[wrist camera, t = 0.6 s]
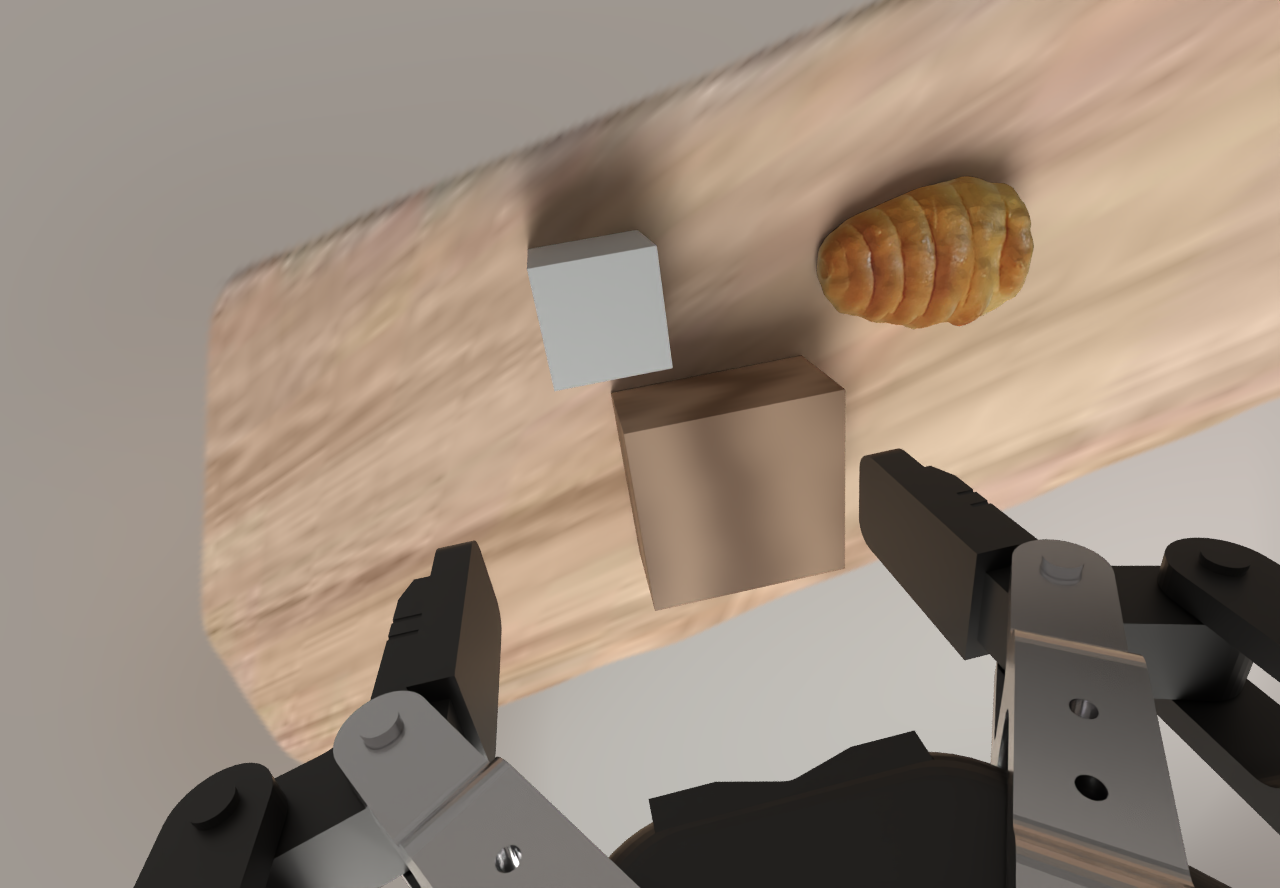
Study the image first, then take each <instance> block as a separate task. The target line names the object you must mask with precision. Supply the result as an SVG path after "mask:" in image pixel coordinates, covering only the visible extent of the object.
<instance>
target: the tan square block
mask: <svg viewBox="0 0 1280 888" xmlns="http://www.w3.org/2000/svg"><path fill="white" fill-rule="evenodd" d="M611 396H612V402H613V407H614V413H615V418H616V424H617V429H618V435H619V440H620V446H621V451H622V457H623V462H624V468H625V473H626V479H627V484H628V490H629V495H630V501H631V506H632V512H633V517H634V523H635V529H636V534H637V540H638V545H639V551H640V555H641V559H642V563H643V566H644V570H645V574H646V578H647V582H648V585H649V589H650V593H651V597H652V601H653V604H654V608H655V611H657V610H662V609H666V608H671V607H675V606H680V605H684V604H689V603H693V602H698V601H702V600H707V599H711V598H715V597H720V596H724V595H729V594H733V593H738V592H742V591H747V590H751V589H756V588H760V587H765V586H769V585H774V584H778V583H782V582H787V581H791V580H796V579H800V578H805V577H809V576H814V575H818V574H823V573H827V572H832V571H836V570H841V569H845V389H844V388H842V387H841V386H840V385H839V384H837V383H836V382H835V381H833V380H832V379H831V378H830V377H828V376H827V375H826V374H825V373H823V372H822V371H821V370H819V369H818V368H817V367H816V366H814V365H813V364H812V363H811V362H809V361H808V360H807V359H805V358H804V357H803V356H797V357H792V358H787V359H781V360H776V361H771V362H766V363H761V364H756V365H751V366H746V367H741V368H736V369H731V370H726V371H720V372H715V373H710V374H705V375H700V376H695V377H690V378H685V379H680V380H675V381H670V382H664V383H659V384H654V385H649V386H644V387H639V388H634V389H629V390H624V391H619V392H614V393H611Z"/></svg>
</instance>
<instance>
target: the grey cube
mask: <svg viewBox="0 0 1280 888" xmlns="http://www.w3.org/2000/svg"><path fill="white" fill-rule="evenodd" d="M527 271H528V275H529V280H530V284H531V289H532V293H533V298H534V302H535V306H536V311H537V315H538V320H539V324H540V329H541V333H542V337H543V342H544V346H545V351H546V355H547V360H548V364H549V369H550V373H551V377H552V382H553V386H554V391H558V390H563V389H568V388H573V387H579V386H584V385H589V384H594V383H599V382H604V381H609V380H614V379H620V378H625V377H630V376H635V375H640V374H645V373H650V372H655V371H661V370H666V369H671V368H673V367H672V359H671V351H670V344H669V336H668V328H667V321H666V313H665V305H664V298H663V290H662V282H661V275H660V267H659V259H658V252H657V245H655V244H654V243H653V242H652V241H650V240H649V239H648V238H647V237H646V236H644V235H643V234H642V233H641V232H640V231H638V230H633V231H627V232H621V233H616V234H610V235H605V236H599V237H593V238H588V239H582V240H576V241H571V242H565V243H560V244H554V245H548V246H543V247H537V248H531V249H528V258H527Z"/></svg>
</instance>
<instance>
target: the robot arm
mask: <svg viewBox="0 0 1280 888" xmlns="http://www.w3.org/2000/svg"><path fill="white" fill-rule="evenodd" d="M859 523H860V528H861V532H862V535H863V537H864V540H865V542H866V544H867V545H868V547H869V548H870V549H871V551H872V552H873V553H874V554H875V555H876V556H877V558H878V559H879V560H880V561H881V562H882V563H883V565H884V566H885V567H886V568H887V569H888V571H889V572H890V573H891V574H892V575H893V576H894V578H895V579H896V580H897V581H898V582H899V584H901V586H902V587H903V588H904V589H905V591H906V592H907V593H908V594H909V595H910V596H911V598H912V599H913V600H914V601H915V602H916V604H917V605H918V606H919V607H920V608H921V609H922V611H923V612H924V613H925V614H926V615H927V617H928V618H929V619H930V620H931V621H932V622H933V624H934V625H935V626H936V627H937V628H938V629H939V631H940V632H941V633H942V634H943V635H944V637H945V638H946V639H947V640H948V641H949V642H950V644H951V645H952V646H953V647H954V648H955V650H956V651H957V652H958V653H959V654H960V655H961V657H962V658H963V659H964V660H968V659H971V658H976V657H980V656H983V655H987V654H990V655H991V656H992V657H993V658H994V659H995V660H996V661H997V663H996V669H995V676H994V699H993V721H992V744H991V762H990V763H986V762H983V761H980V760H977V759H973V758H970V757H965V756H960V755H955V754H948V753H939V752H928V750H927V749H926V748H925V746H924V745H923V743H922V742H921V740H920V739H919V737H918V735H917V734H916V732H915V731H911V732H907V733H903V734H899V735H896V736H892V737H888V738H884V739H880V740H876V741H872V742H868V743H864V744H861V745H857V746H853V747H850V748H848V749H847V750H845V751H843V752H841V753H840V754H838V755H836V756H834V757H833V758H831V759H829V760H827V761H826V762H824V763H822V764H821V765H819V766H817V767H815V768H813V769H812V770H810V771H808V772H807V773H805V774H803V775H801V776H800V777H798V778H796V779H794V780H791V781H784V782H783V781H782V782H714V783H709V784H705V785H702V786H698V787H694V788H690V789H686V790H682V791H678V792H675V793H671V794H667V795H663V796H659V797H656V798H651V799H649V803H650V809H651V814H652V820H653V822H652V823H651V824H649V825H647V826H646V827H644V828H642V829H641V830H639V831H638V832H636V833H635V834H634V835H632V836H631V837H630V838H628V839H627V840H626V841H625V842H624V843H623V844H622V845H621V846H620V847H618V848H617V849H616V850H615V851H614V852H613V853H612V854H611V855H610V857H609V858H608V857H607V856H606V855H605V854H604V853H603V852H602V851H601V850H600V849H599V848H598V847H597V846H596V845H594V844H593V843H592V842H591V841H590V840H589V839H588V838H587V837H586V836H585V835H584V834H583V833H582V832H581V831H580V830H579V829H577V827H576V826H575V825H573V824H572V823H571V822H570V821H569V820H568V819H567V818H566V817H565V816H564V815H563V814H562V813H561V812H560V811H559V810H557V808H556V807H555V806H553V805H552V804H551V803H550V802H549V801H548V800H547V799H546V798H545V797H544V796H543V795H542V794H541V793H540V792H539V791H538V790H537V789H536V788H535V787H534V786H532V785H531V784H530V783H529V782H528V781H527V780H526V779H525V778H524V777H523V776H522V775H521V774H520V773H519V772H518V771H517V770H516V769H515V768H514V767H512V766H511V765H510V764H509V763H508V762H507V761H505V760H504V759H502V758H501V757H496V758H495V752H496V733H497V713H498V693H499V673H500V652H501V618H500V612H499V607H498V603H497V599H496V596H495V593H494V590H493V587H492V584H491V581H490V578H489V575H488V572H487V569H486V566H485V563H484V560H483V557H482V554H481V551H480V548H479V546H478V544H477V542H476V541H470V542H466V543H461V544H456V545H452V546H447V547H443V548H438V549H437V550H436V553H435V557H434V562H433V566H432V571H431V575H430V576H428V577H424V578H419V579H415V580H413V582H412V583H411V584H410V586H409V587H408V588H407V589H406V591H405V592H404V593H403V594H402V596H401V597H400V598H399V600H398V603H397V607H396V610H395V614H394V617H393V624H392V625H391V628H390V632H389V635H388V637H389V640H388V641H387V642H386V646H385V650H384V653H383V657H382V660H381V664H380V668H379V671H378V675H377V678H376V682H375V686H374V689H373V693H372V696H371V700H370V701H369V702H367V703H366V704H364V705H362V706H361V707H360V708H359V709H357V710H356V711H355V712H354V713H353V714H352V715H351V716H350V717H349V718H348V719H347V720H346V721H345V723H344V724H343V725H342V727H341V728H340V730H339V731H338V734H337V736H336V738H335V741H334V745H333V748H332V749H330V750H329V751H327V752H326V753H324V754H322V755H320V756H318V757H316V758H314V759H312V760H310V761H308V762H306V763H304V764H302V765H300V766H298V767H297V768H295V769H293V770H291V771H289V772H287V773H285V774H283V775H281V776H279V777H277V778H275V779H274V777H273V776H272V774H271V773H270V771H269V770H268V769H267V768H266V767H265V766H263V765H261V764H257V763H243V764H239V765H234V766H232V767H229V768H226V769H224V770H222V771H220V772H218V773H216V774H214V775H212V776H210V777H209V778H207V779H206V780H204V781H203V782H201V783H200V784H199V785H197V786H196V787H195V788H194V789H192V790H191V791H190V792H189V793H188V794H187V795H186V796H185V797H184V798H183V799H182V800H181V801H180V802H179V803H178V804H177V805H176V807H175V808H174V809H173V810H172V812H171V813H170V814H169V816H168V817H167V819H166V821H165V823H164V825H163V827H162V829H161V831H160V833H159V835H158V837H157V839H156V841H155V844H154V846H153V848H152V850H151V852H150V854H149V857H148V858H147V860H146V862H145V865H144V867H143V869H142V871H141V873H140V875H139V877H138V879H137V881H136V884H135V886H134V888H381V887H382V886H384V885H386V884H387V883H389V882H391V881H392V880H394V879H396V878H397V877H399V876H402V878H403V879H404V881H405V882H406V884H407V885H408V887H409V888H1231V887H1229V886H1227V885H1225V884H1224V883H1222V882H1220V881H1218V880H1216V879H1214V878H1212V877H1210V876H1208V875H1206V874H1204V873H1202V872H1201V871H1199V870H1197V869H1195V868H1193V867H1191V866H1189V865H1188V863H1187V858H1186V853H1185V848H1184V843H1183V839H1182V834H1181V829H1180V824H1179V819H1178V814H1177V809H1176V805H1175V800H1174V795H1173V791H1172V785H1171V780H1170V776H1169V771H1168V766H1167V761H1166V756H1165V752H1164V747H1163V742H1162V737H1161V732H1160V727H1159V722H1158V717H1157V715H1158V716H1159V717H1160V718H1161V719H1162V720H1163V721H1164V722H1165V723H1166V724H1167V725H1168V726H1169V727H1170V728H1171V729H1172V730H1174V731H1175V732H1176V733H1177V734H1178V735H1179V736H1180V737H1181V738H1182V739H1183V740H1184V741H1185V742H1186V743H1187V744H1188V745H1189V746H1190V747H1191V748H1192V749H1193V750H1194V751H1195V752H1196V753H1197V754H1198V755H1199V756H1200V757H1201V758H1202V759H1203V760H1204V761H1205V762H1206V763H1207V764H1208V765H1209V766H1210V767H1211V768H1212V769H1213V770H1214V771H1215V772H1216V773H1217V774H1218V775H1219V776H1220V777H1221V778H1222V779H1223V780H1224V781H1226V783H1227V784H1228V785H1230V787H1232V788H1233V789H1234V790H1235V791H1236V792H1237V793H1238V794H1239V795H1240V796H1241V797H1242V798H1243V799H1244V800H1245V801H1246V802H1247V803H1248V804H1249V805H1250V806H1251V807H1252V808H1253V809H1254V810H1255V811H1256V812H1257V813H1258V814H1259V815H1260V816H1261V817H1262V818H1263V819H1264V820H1265V821H1266V822H1267V823H1268V824H1269V825H1270V826H1271V827H1272V828H1273V829H1274V830H1275V831H1276V832H1277V833H1279V835H1280V705H1279V704H1278V703H1276V702H1275V701H1274V700H1273V699H1271V698H1270V697H1269V696H1268V695H1266V694H1265V693H1264V692H1263V691H1261V690H1260V689H1259V688H1258V687H1256V686H1255V685H1254V684H1253V683H1251V682H1250V681H1249V680H1248V679H1247V676H1248V674H1249V671H1250V669H1251V666H1252V664H1253V662H1254V663H1255V664H1257V665H1258V666H1259V667H1260V668H1262V669H1263V670H1264V671H1266V672H1267V673H1268V674H1270V675H1271V676H1272V677H1273V678H1275V679H1276V680H1277V681H1279V682H1280V565H1279V564H1277V563H1276V562H1274V561H1272V560H1271V559H1269V558H1267V557H1266V556H1264V555H1262V554H1260V553H1258V552H1256V551H1254V550H1252V549H1249V548H1247V547H1244V546H1241V545H1238V544H1235V543H1231V542H1227V541H1223V540H1217V539H1210V538H1187V539H1181V540H1177V541H1175V542H1173V543H1171V544H1170V545H1168V546H1167V548H1166V550H1165V553H1164V556H1163V560H1162V563H1161V566H1111V565H1110V564H1109V563H1108V562H1107V561H1106V560H1105V559H1104V558H1103V557H1101V556H1100V555H1099V554H1097V553H1095V552H1094V551H1092V550H1090V549H1088V548H1085V547H1083V546H1080V545H1077V544H1074V543H1070V542H1066V541H1060V540H1047V539H1045V540H1044V539H1043V540H1038V539H1036V538H1035V537H1034V536H1033V535H1031V534H1030V533H1029V532H1027V531H1026V530H1025V529H1023V528H1022V527H1021V526H1020V525H1018V524H1017V523H1016V522H1014V521H1013V520H1012V519H1011V518H1009V517H1008V516H1007V515H1005V514H1004V513H1003V512H1002V511H1000V510H999V509H998V508H996V507H995V506H994V505H993V504H991V503H990V504H988V502H987V500H986V499H985V498H983V497H982V496H981V495H980V494H978V493H977V492H973V489H972V488H971V487H969V486H968V485H967V484H965V483H964V482H963V481H962V480H960V479H959V478H958V477H956V476H955V475H952V474H950V473H947V472H945V471H942V470H940V469H937V468H935V467H932V466H927V467H924V466H922V465H921V464H920V463H919V462H917V461H916V460H915V459H914V458H913V457H911V456H910V455H909V454H908V453H906V452H905V451H904V450H902V449H894V450H889V451H885V452H880V453H876V454H871V455H866V456H864V457H862V459H861V462H860V475H859Z"/></svg>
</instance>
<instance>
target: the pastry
mask: <svg viewBox="0 0 1280 888" xmlns="http://www.w3.org/2000/svg"><path fill="white" fill-rule="evenodd" d="M1030 228H1031V221H1030V216H1029V213H1028V210H1027V208H1026V206H1025V204H1024V203H1023V202H1022V201H1021V199H1020V198H1019V196H1018V194H1017V193H1016V192H1015V190H1014V188H1012V187H1011V186H1009V185H1007V184H1004V183H990V182H986V181H984V180H982V179H979V178H975V177H970V176H965V177H959V178H956V179H953V180H950V181H946V182H942V183H938V184H934V185H929V186H925V187H921V188H918V189H915V190H912V191H910V192H908V193H905V194H903V195H901V196H898V197H896V198H894V199H891V200H889V201H886V202H884V203H882V204H880V205H878V206H876V207H874V208H871V209H868V210H866V211H864V212H861V213H859V214H857V215H855V216H853V217H851V218H849V219H847V220H846V221H844V222H843V223H842V224H841V225H840V226H839V227H838V228H837V229H835V230H834V231H833V232H832V233H830V234H829V235H828V236H827V237H826V238H825V240H824V241H823V243H822V245H821V247H820V249H819V251H818V261H817V276H818V279H819V281H820V284H821V286H822V289H823V293H824V295H825V296H826V298H827V299H828V300H829V301H830V302H831V303H832V305H833V306H834V307H835V309H836V310H837V311H838V312H840V313H844V314H849V315H854V316H860V317H862V318H865V319H867V320H869V321H871V322H875V323H885V322H886V323H890V324H895V325H903V326H905V327H908V328H911V329H916V328H924V327H928V326H931V325H934V324H938V323H941V322H949V323H951V324H953V325H955V326H962V325H966V324H968V323H970V322H972V321H974V320H976V319H977V318H978V317H979V316H983V315H985V314H986V313H988V312H990V311H992V310H994V309H995V308H997V307H999V306H1001V305H1002V304H1003V303H1004V302H1005V301H1007V300H1010V299H1012V298H1014V297H1015V296H1016V295H1017V293H1018V292H1019V291H1020V290H1021V288H1022V286H1023V284H1024V282H1025V279H1026V276H1027V274H1028V271H1029V266H1030V262H1031V257H1032V253H1033V248H1034V245H1033V239H1032V236H1031V232H1030Z"/></svg>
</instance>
